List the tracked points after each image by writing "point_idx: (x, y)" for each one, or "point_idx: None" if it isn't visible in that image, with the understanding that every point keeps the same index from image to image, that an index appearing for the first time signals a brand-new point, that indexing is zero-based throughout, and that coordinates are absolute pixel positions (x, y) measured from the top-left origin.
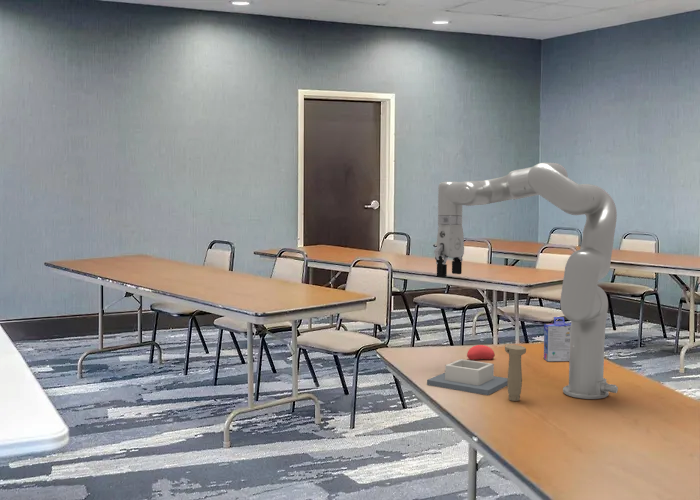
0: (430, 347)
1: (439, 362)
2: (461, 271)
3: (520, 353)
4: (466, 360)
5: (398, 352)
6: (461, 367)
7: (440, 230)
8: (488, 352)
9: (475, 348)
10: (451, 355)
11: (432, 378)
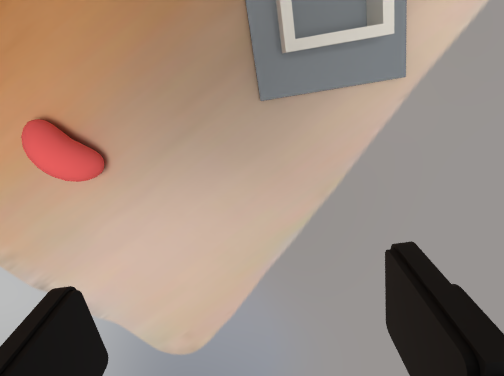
0: None
1: (184, 200)
2: (39, 303)
3: None
4: (290, 24)
5: (182, 318)
6: None
7: None
8: (48, 129)
9: (74, 160)
10: (103, 225)
11: (383, 75)
